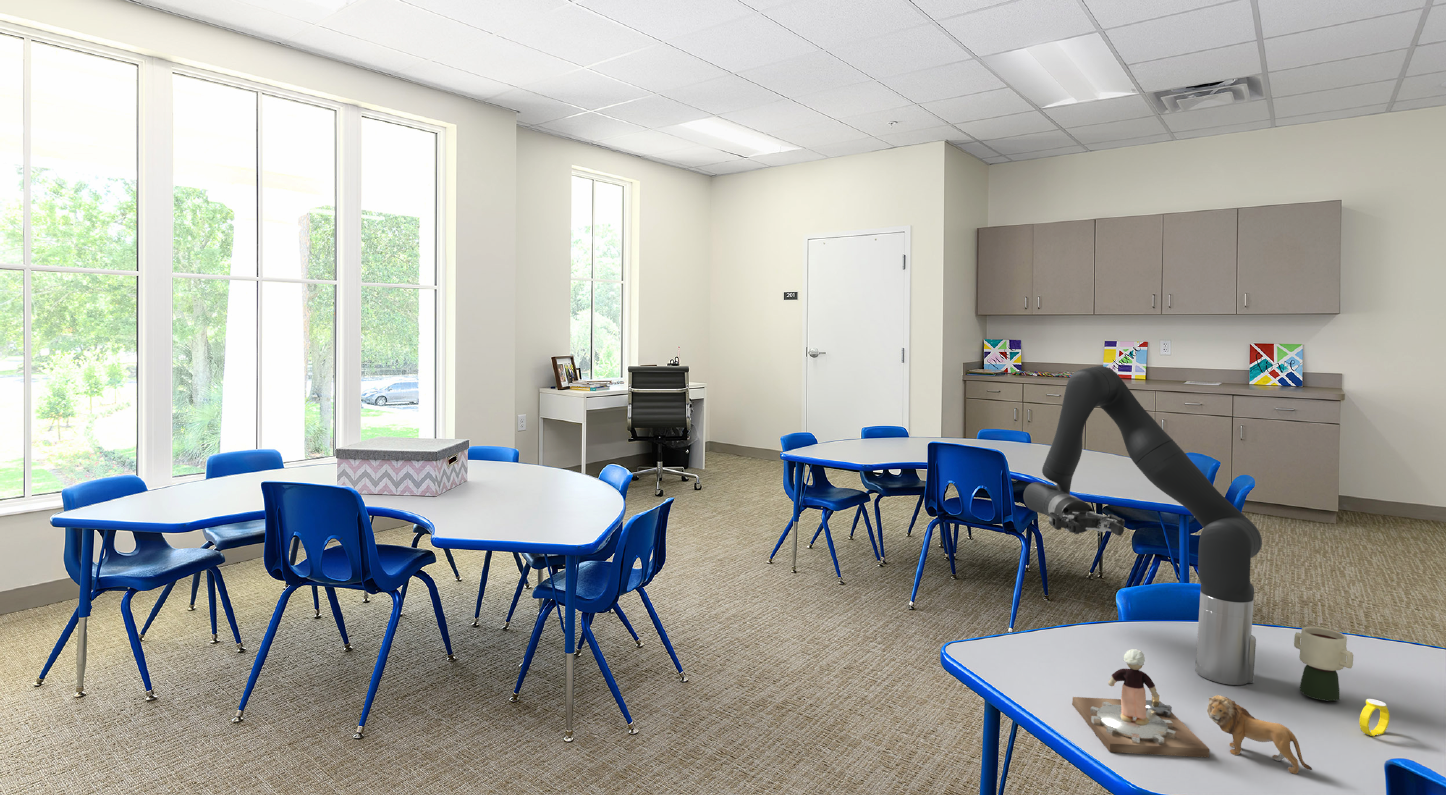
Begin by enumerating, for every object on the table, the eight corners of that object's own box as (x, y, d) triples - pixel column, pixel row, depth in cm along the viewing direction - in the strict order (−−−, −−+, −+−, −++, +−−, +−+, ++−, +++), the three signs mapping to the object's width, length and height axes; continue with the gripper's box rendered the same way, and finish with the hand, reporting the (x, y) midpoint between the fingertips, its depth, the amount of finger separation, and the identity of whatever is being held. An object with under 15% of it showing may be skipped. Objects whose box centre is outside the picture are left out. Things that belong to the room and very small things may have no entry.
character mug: (1362, 708, 146) (1367, 641, 145) (1335, 712, 144) (1340, 645, 143) (1304, 683, 157) (1309, 621, 156) (1278, 687, 155) (1282, 624, 154)
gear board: (1159, 708, 145) (1160, 701, 145) (1208, 757, 128) (1209, 749, 128) (1072, 704, 146) (1072, 696, 146) (1109, 752, 129) (1110, 743, 129)
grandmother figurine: (1153, 718, 136) (1157, 649, 135) (1157, 728, 132) (1161, 657, 131) (1105, 710, 139) (1109, 642, 138) (1107, 720, 135) (1111, 650, 134)
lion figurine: (1203, 750, 130) (1206, 699, 130) (1206, 737, 135) (1209, 687, 134) (1312, 780, 122) (1316, 725, 121) (1311, 765, 126) (1315, 712, 125)
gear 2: (1163, 704, 143) (1164, 689, 143) (1177, 718, 138) (1178, 702, 138) (1133, 703, 144) (1133, 687, 143) (1145, 716, 139) (1146, 700, 138)
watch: (1374, 729, 139) (1378, 697, 138) (1392, 736, 136) (1396, 704, 136) (1353, 732, 137) (1357, 699, 136) (1370, 740, 134) (1374, 707, 134)
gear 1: (1153, 709, 141) (1153, 704, 141) (1190, 746, 128) (1190, 740, 128) (1078, 705, 142) (1078, 700, 142) (1107, 742, 129) (1107, 736, 129)
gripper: (1039, 495, 176) (1064, 511, 160) (1103, 497, 175) (1135, 513, 159) (1037, 527, 176) (1063, 546, 160) (1101, 530, 175) (1133, 549, 159)
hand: (1099, 530), depth 159 cm, fingers open, 8 cm apart
